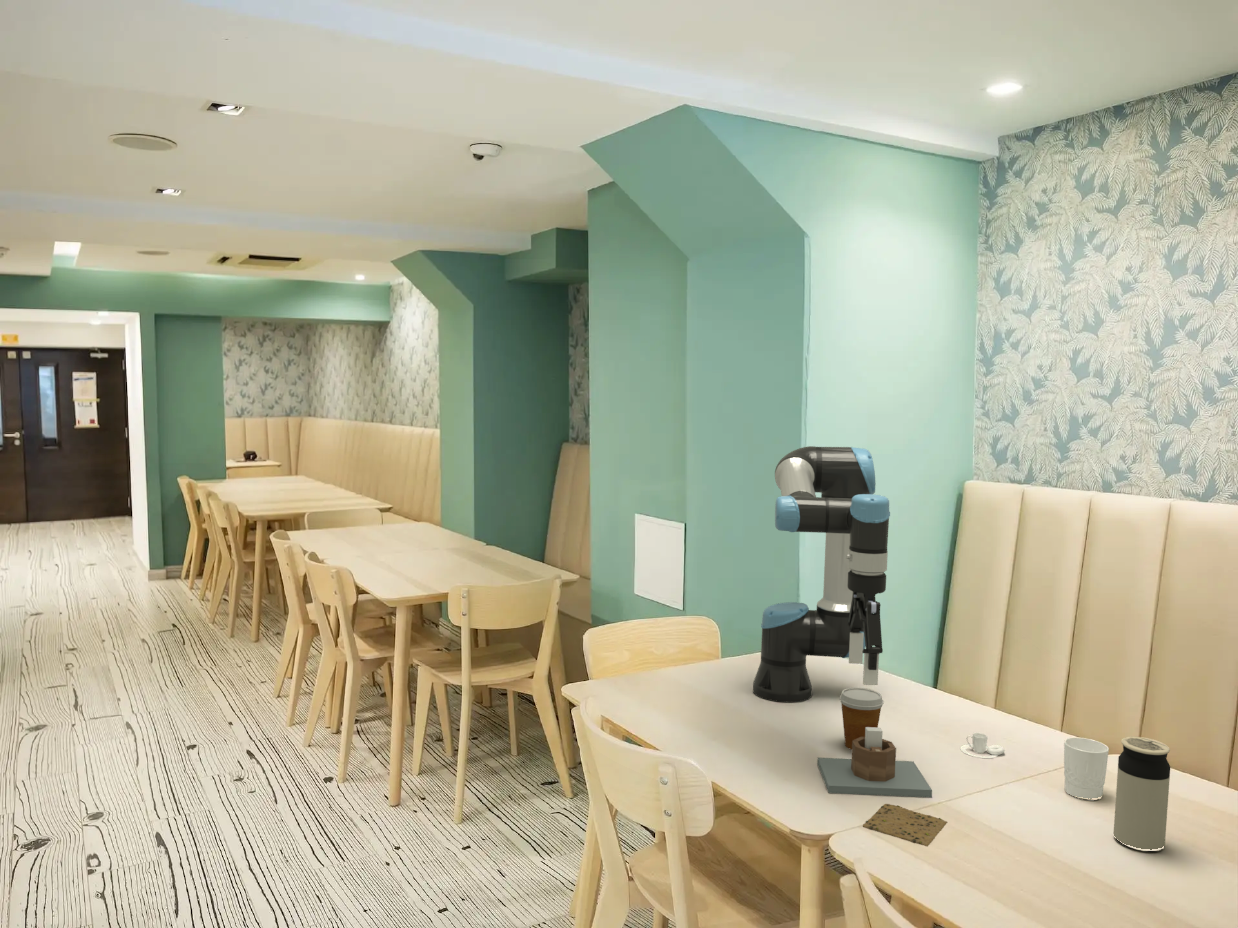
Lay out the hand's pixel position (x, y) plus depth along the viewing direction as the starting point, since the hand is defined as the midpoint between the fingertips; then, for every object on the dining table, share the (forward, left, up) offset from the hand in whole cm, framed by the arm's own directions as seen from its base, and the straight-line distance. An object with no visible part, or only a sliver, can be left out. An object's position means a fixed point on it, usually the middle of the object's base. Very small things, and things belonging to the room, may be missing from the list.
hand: (862, 673), depth 190 cm
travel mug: (+25, +44, -22) cm, 55 cm away
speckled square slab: (+22, +4, -22) cm, 31 cm away
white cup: (+5, +43, -22) cm, 49 cm away
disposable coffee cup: (-15, +3, -22) cm, 27 cm away
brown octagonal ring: (+3, +2, -20) cm, 20 cm away
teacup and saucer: (-12, +30, -22) cm, 39 cm away
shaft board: (+3, +2, -21) cm, 22 cm away
